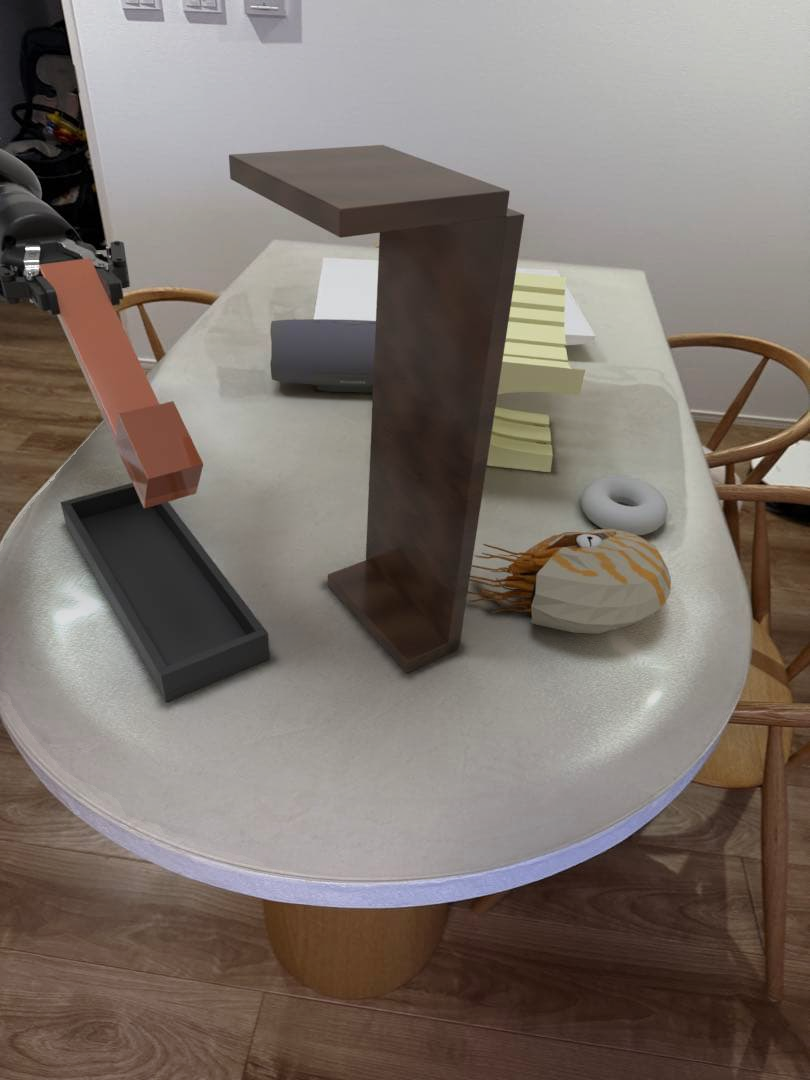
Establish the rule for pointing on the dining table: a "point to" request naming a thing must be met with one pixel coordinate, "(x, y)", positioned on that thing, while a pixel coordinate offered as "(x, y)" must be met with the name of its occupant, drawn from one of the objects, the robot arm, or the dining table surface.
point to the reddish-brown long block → (124, 388)
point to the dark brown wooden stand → (415, 370)
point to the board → (355, 296)
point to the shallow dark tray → (165, 591)
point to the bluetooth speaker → (324, 353)
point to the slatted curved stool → (532, 372)
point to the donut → (637, 517)
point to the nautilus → (584, 580)
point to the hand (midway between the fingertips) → (84, 298)
